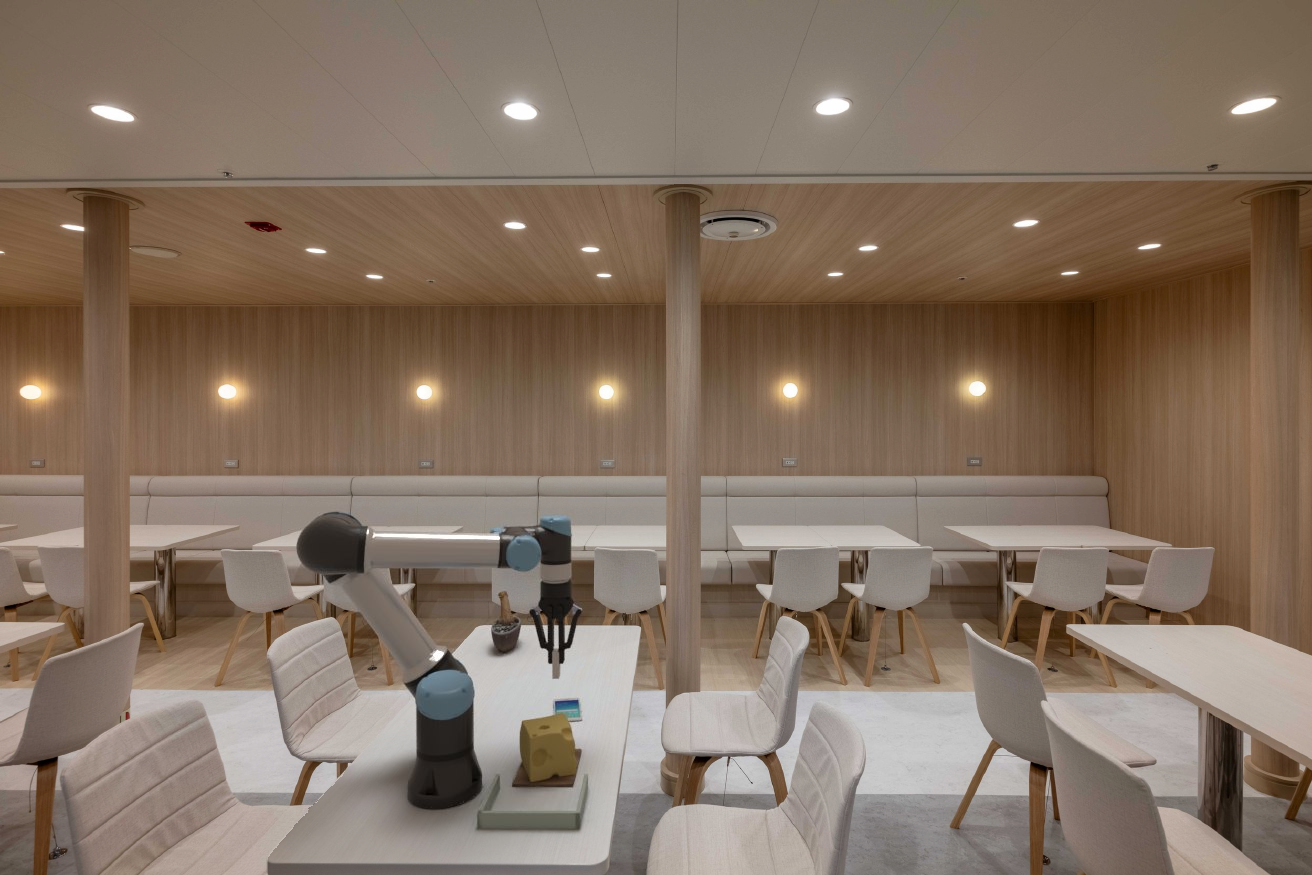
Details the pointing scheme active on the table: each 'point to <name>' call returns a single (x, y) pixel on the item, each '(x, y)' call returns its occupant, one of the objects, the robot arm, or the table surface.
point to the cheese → (547, 747)
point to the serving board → (554, 781)
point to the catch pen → (529, 813)
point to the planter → (505, 626)
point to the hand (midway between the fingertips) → (556, 676)
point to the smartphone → (568, 708)
